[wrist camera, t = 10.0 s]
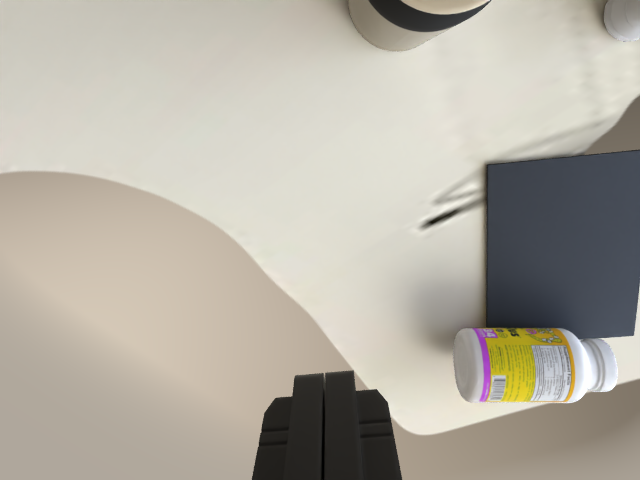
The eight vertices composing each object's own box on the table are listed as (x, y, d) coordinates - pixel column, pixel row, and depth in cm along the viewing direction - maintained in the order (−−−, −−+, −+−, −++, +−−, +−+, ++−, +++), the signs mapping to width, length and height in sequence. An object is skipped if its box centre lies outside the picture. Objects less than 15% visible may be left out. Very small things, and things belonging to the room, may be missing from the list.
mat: (486, 164, 40) (488, 165, 40) (653, 148, 39) (655, 148, 39) (486, 345, 46) (487, 346, 45) (632, 334, 45) (634, 335, 45)
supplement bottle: (448, 333, 47) (577, 334, 46) (454, 403, 44) (590, 403, 44) (466, 321, 40) (615, 322, 40) (474, 401, 38) (632, 402, 38)
